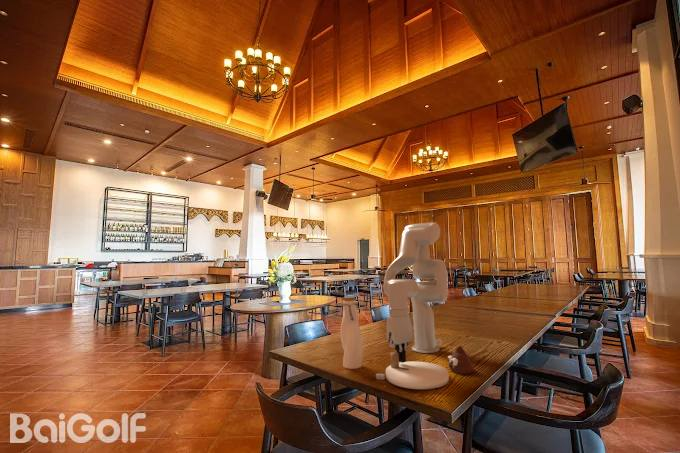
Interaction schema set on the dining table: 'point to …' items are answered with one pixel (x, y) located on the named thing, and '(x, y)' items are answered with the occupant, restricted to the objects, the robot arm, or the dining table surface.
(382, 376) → the pointer
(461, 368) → the poop emoji
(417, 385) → the turntable
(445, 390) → the dining table surface
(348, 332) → the water bottle
